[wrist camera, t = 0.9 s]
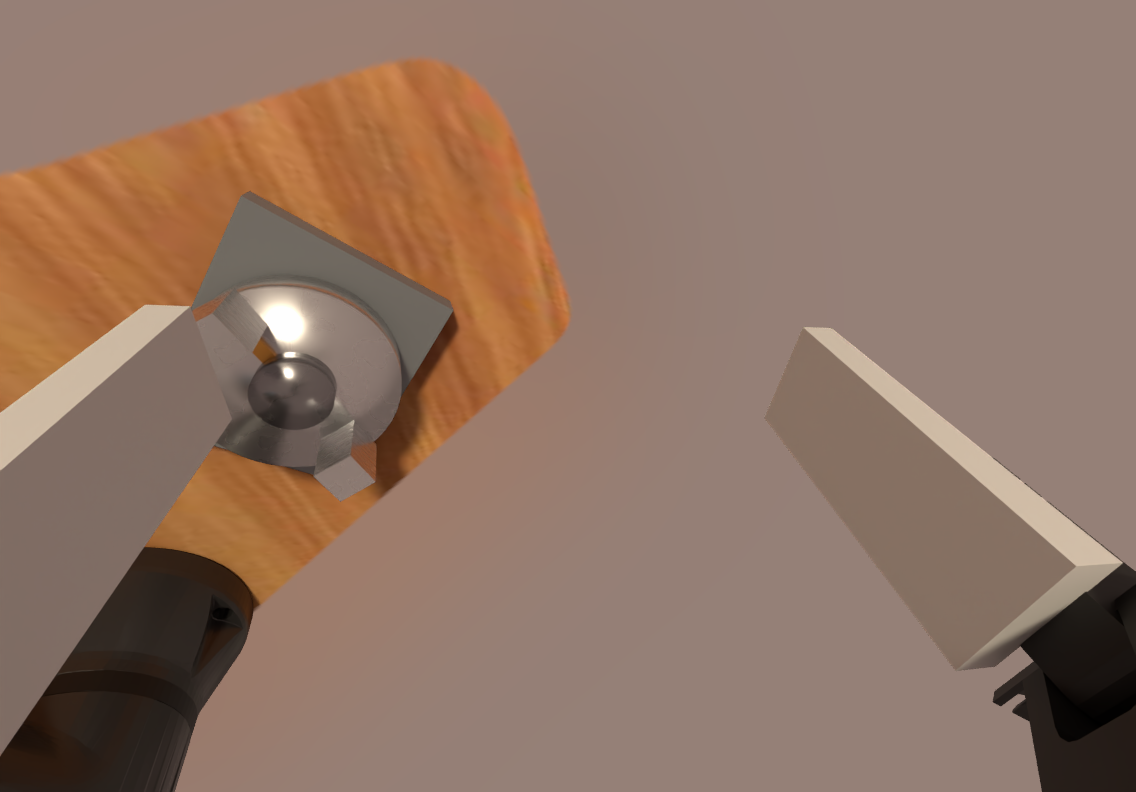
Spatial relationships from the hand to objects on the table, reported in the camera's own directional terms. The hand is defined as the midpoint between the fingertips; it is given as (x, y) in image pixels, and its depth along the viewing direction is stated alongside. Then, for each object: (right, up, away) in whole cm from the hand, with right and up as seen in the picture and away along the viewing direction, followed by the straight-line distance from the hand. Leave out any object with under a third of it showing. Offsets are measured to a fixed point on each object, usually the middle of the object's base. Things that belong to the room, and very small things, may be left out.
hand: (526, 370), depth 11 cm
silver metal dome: (-16, +1, +20) cm, 26 cm away
